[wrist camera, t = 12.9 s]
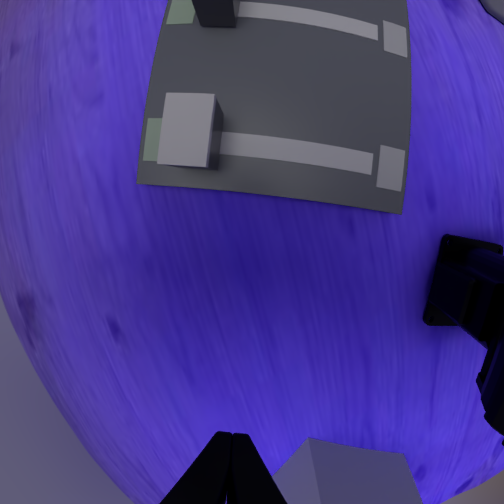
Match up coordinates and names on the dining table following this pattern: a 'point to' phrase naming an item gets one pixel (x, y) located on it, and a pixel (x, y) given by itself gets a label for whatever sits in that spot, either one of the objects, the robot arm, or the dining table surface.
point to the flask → (495, 8)
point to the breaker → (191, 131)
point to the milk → (345, 476)
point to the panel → (292, 99)
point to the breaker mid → (217, 12)
